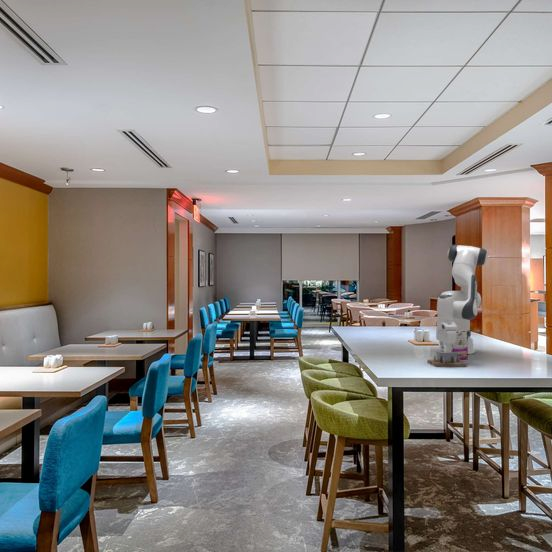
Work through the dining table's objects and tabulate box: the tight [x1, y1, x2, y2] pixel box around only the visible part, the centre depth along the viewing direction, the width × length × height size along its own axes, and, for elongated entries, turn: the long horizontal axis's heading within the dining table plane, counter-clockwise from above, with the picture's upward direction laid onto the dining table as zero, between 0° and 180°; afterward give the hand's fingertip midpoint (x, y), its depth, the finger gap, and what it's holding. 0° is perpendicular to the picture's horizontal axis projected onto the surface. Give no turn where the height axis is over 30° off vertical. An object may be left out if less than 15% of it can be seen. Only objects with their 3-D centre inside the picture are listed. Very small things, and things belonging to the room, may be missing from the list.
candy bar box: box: [451, 330, 469, 361], centre depth 271 cm, size 11×5×16 cm, turn 112°
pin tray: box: [426, 355, 467, 368], centre depth 253 cm, size 14×16×4 cm
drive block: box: [435, 351, 457, 363], centre depth 253 cm, size 5×9×5 cm, turn 91°
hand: (445, 350), depth 253 cm, fingers open, 8 cm apart
